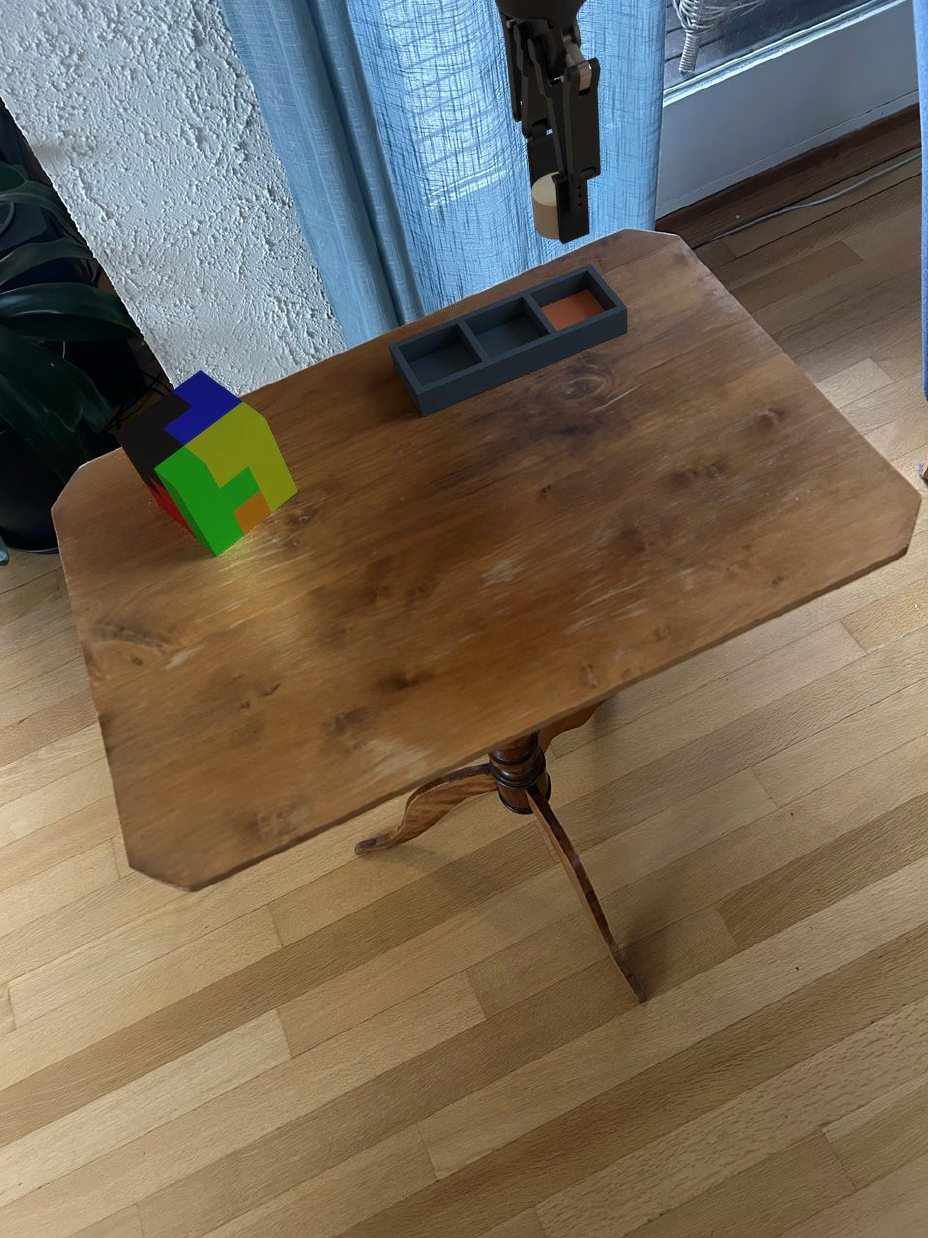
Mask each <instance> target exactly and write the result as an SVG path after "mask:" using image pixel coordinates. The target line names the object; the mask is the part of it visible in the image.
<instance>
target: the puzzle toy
mask: <svg viewBox="0 0 928 1238" xmlns="http://www.w3.org/2000/svg"><path fill="white" fill-rule="evenodd" d="M112 434H113V435H114V437H115V439H116V441H117V442H118V444H119V445H120V447H121V449H122V450H123V452H124V453H125V454H126V456H127V458H128V460H129V461H130V462H131V464H132V466H133V467H134V469H135V471H136V472H137V474H138V475H139V477H140V478H141V480H142V481H143V483H144V485H145V486H146V488H147V490H148V491H149V492H150V494H151V495H152V498H153V499H154V500H155V501H156V503H157V505H158V506H159V507H160V508H161V509H162V510H164V511H165V512H166V513H167V514H168V515H169V516H171V517H172V519H174V520H175V521H176V522H177V523H178V524H179V525H181V527H183V528H184V529H185V530H186V531H188V533H190V535H192V536H193V537H194V538H195V539H196V540H198V542H200V543H201V545H203V546H204V547H205V548H207V550H208V551H210V552H211V553H212V554H213V555H214V556H215V557H218V556H220V555H221V554H223V553H224V552H225V551H226V550H227V549H229V548H230V547H231V546H232V545H234V544H235V543H236V542H237V541H238V540H239V539H241V538H242V537H244V536H245V535H246V534H248V532H250V531H251V530H252V529H253V528H255V527H256V526H258V524H260V523H261V522H262V521H263V520H265V519H266V518H267V517H269V516H270V515H271V514H272V513H273V512H274V511H276V510H277V509H278V508H280V507H281V506H282V505H283V504H284V503H286V502H287V501H288V500H290V499H291V498H292V497H294V495H295V494H297V493H298V492H299V491H298V488H297V486H296V484H295V482H294V480H293V477H292V475H291V473H290V470H289V469H288V466H287V464H286V461H285V458H284V457H283V455H282V453H281V450H280V448H279V446H278V443H277V441H276V439H275V436H274V434H273V432H272V429H271V427H270V425H269V423H268V421H267V419H266V417H265V416H263V415H262V414H260V412H258V411H256V410H255V409H254V408H252V406H250V405H248V404H247V403H246V402H244V401H243V400H242V399H240V398H239V397H238V396H237V395H235V394H234V393H232V392H231V391H230V390H228V389H227V388H226V387H225V386H223V385H222V384H221V383H219V382H217V381H216V380H215V379H214V378H212V376H210V375H208V374H207V373H206V372H204V370H202V369H200V370H198V371H196V372H195V373H193V375H191V376H190V377H188V378H187V379H186V380H185V381H183V382H182V383H181V384H179V385H177V386H176V387H175V388H173V389H172V390H171V391H169V392H168V393H167V394H165V395H164V396H162V397H161V398H160V399H159V400H157V401H156V402H154V403H153V404H151V405H150V406H149V407H148V408H145V410H143V411H142V412H141V413H139V414H137V416H135V417H134V418H132V419H131V420H130V421H128V422H127V423H126V424H124V425H122V427H120V428H119V429H117V430H116V431H115V432H113V433H112Z"/></svg>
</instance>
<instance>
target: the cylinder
mask: <svg viewBox="0 0 928 1238" xmlns="http://www.w3.org/2000/svg"><path fill="white" fill-rule="evenodd" d="M557 173H559V172H555V173H551V174H548V175H546V176H543V177H542V178H540V179H539V180H537V181H536V182H535V183H534V185H533V186H532V189H531V188H530V197H531V207H532V215H533V216H532V217H533V225H534V230H535V231H536V233H537V234H538V235H539V236H541V237H543V238H545V239H547V240H552V241H559V231H558V219H557V206H556V193H555V184H554V183H553V181H552V178H551V176H552V175H555V174H557Z"/></svg>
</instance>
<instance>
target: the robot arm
mask: <svg viewBox="0 0 928 1238" xmlns="http://www.w3.org/2000/svg"><path fill="white" fill-rule="evenodd" d="M587 1H588V0H494V2H495V5H496V7H497V9H498V13H499V17H500V22H501V27H502V32H503V38H504V40H503V41H504V49H505V60H506V68H507V76H508V77H507V78H508V87H509V97H510V105H511V106H510V107H511V115H512V119H513V121H514V122H515V123H519V122H521V123H520V125H521V126H520V130H521V135H522V136H523V138H524V139H526V140H527V142H525V145H526V154H527V163H528V164H527V167H528V174H529V186H530V190H531V189H532V186H533V185H534V183H535V182H536V181H537V180H539V179H540V178H542V177H543V176H546V175H548V174H551V173H555V172H559V173H557V174H555V175H552V176H551V178H552V181H553V183H554V184H555V193H556V206H557V219H558V231H559V240H558V241H559V242H560V243H561V244H562V245H566V244H568V243H570V242H573V241H575V240H578V239H580V238H583V237H585V236H588V235H590V233H591V232H590V231H591V230H590V211H589V210H590V209H589V193H588V192H589V188H588V187H589V186H588V181H589V180H592V179H594V178H596V177H599V176H601V174H602V165H601V164H602V162H601V139H600V113H599V109H600V108H599V85H600V84H599V83H600V77H601V69H602V68H601V63H600V60H599V59H598V58H597V57H596V56H594V57H591V58H589V59H586V57H585V55H584V54H583V52H582V50H581V47H582V42H583V41H582V35H581V29H580V26H579V21H578V18H577V15H578V13H579V11H580V10H581V8H582V7H583V5H584V4H585V3H586V2H587ZM548 131H551V132H550V133H548Z"/></svg>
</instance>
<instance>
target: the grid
mask: <svg viewBox="0 0 928 1238" xmlns="http://www.w3.org/2000/svg"><path fill="white" fill-rule="evenodd" d="M628 320H629V319H628V307H627V306H626V304H625V303H624V302H623V301H622V299H621V298H620V297H619V296H618V295H617V294H616V292H615V291H614V290H613V289H612V287H611V286H610V285H609V284H608V283H607V281H606V280H605V279H604V278H603V277H602V276H601V274H600V272H598V271H597V269H596V268H595V266H593V265H592V264H591V263H588V264H585V265H582V266H580V267H577V268H575V269H572V270H571V271H568V272H565V273H562V274H561V275H558V276H556V277H553V278H551V279H549V280H545V281H543V282H541V283H539V284H536V285H533V286H531V287H529V288H526V289H523V290H521V291H519V292H516V293H514V294H512V295H508V296H506V297H504V298H502V299H501V298H500V299H499V300H496V301H494V302H491V303H489V304H487V305H484V306H482V307H479V308H477V309H474V310H472V311H470V312H467V313H464V314H461V315H459V316H457V317H455V318H451V319H450V320H447V321H445V322H442V323H439V324H437V325H434V326H433V327H430V328H428V329H425V330H423V331H419V332H418V333H415V334H413V335H410V336H408V337H405V338H403V339H400V340H398V341H396V342H395V341H394V342H393V343H391V344H388V351H389V353H390V356H391V360H392V364H393V367H394V370H395V372H396V374H397V375H398V377H399V379H400V381H401V382H402V384H403V386H404V388H405V389H406V391H407V393H408V394H409V396H410V398H411V400H412V402H413V403H414V405H415V406H416V409H417V411H418V412H419V414H420V416H421V417H422V418H424V417H427V416H429V415H431V414H434V413H436V412H439V411H441V410H444V409H446V408H448V407H451V406H453V405H456V404H459V403H460V402H463V401H465V400H467V399H471V398H473V397H475V396H478V395H480V394H482V393H485V392H487V391H489V390H492V389H495V388H497V387H499V386H502V385H504V384H506V383H508V382H511V381H514V380H516V379H519V378H521V377H523V376H526V375H528V374H530V373H533V372H535V371H538V370H540V369H542V368H545V367H547V366H550V365H553V364H554V363H557V362H559V361H562V360H564V359H566V358H569V357H571V356H574V355H576V354H578V353H582V352H584V351H586V350H589V349H591V348H594V347H595V346H598V345H601V344H603V343H605V342H608V341H610V340H612V339H615V338H617V337H620V336H622V335H624V334H627V333H628V331H629V328H628V325H629V324H628V322H629V321H628Z"/></svg>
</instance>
